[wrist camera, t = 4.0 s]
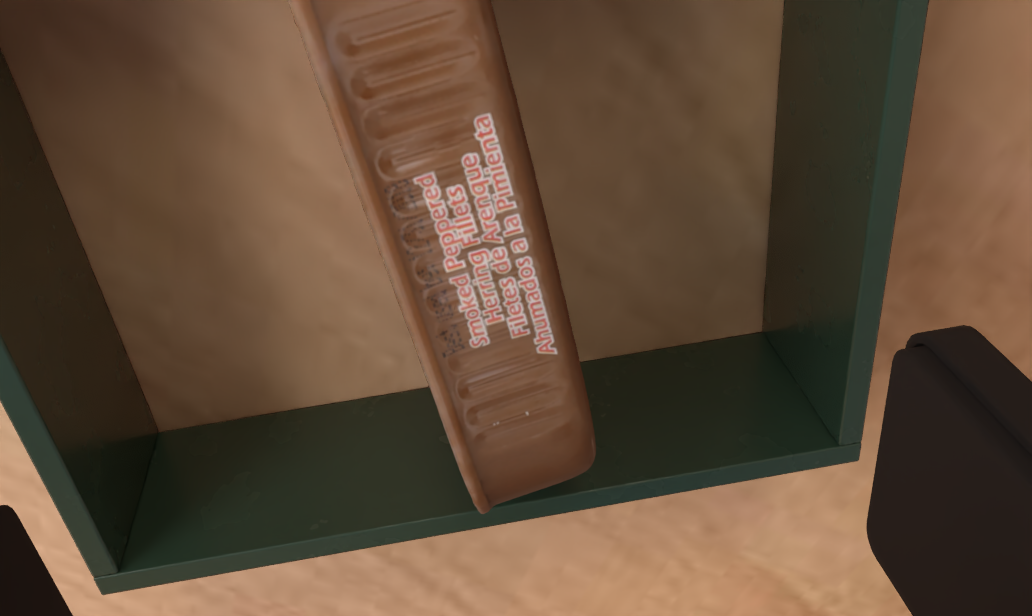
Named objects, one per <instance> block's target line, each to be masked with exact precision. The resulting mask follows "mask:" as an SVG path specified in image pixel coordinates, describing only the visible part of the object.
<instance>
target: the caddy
mask: <svg viewBox="0 0 1032 616" xmlns="http://www.w3.org/2000/svg"><path fill="white" fill-rule="evenodd" d="M928 3H929V0H784V15H783V30H782V45H781V60H780V75H779V90H778V105H777V120H776V135H775V150H774V165H773V180H772V195H771V210H770V224H769V239H768V254H767V269H766V284H765V299H764V314H763V329H762V331H763V332H761V333H755V334H749V335H743V336H737V337H731V338H725V339H719V340H713V341H707V342H701V343H695V344H688V345H682V346H676V347H670V348H664V349H658V350H652V351H646V352H640V353H634V354H628V355H622V356H616V357H610V358H604V359H598V360H592V361H586V362H580V365H581V370H582V374H583V378H584V382H585V387H586V391H587V396H588V401H589V406H590V411H591V416H592V422H593V428H594V434H595V442H596V456H595V459H594V462H593V464H592V466H591V467H590V468H589V469H588V470H587V471H586V472H584V473H582V474H580V475H578V476H576V477H574V478H571V479H569V480H566V481H563V482H561V483H558V484H555V485H553V486H550V487H547V488H544V489H541V490H538V491H535V492H532V493H529V494H526V495H523V496H520V497H517V498H514V499H511V500H508V501H505V502H502V503H499V504H496V505H495V506H493V507H492V508H491V509H490V511H489V512H487V513H484V514H481V513H480V512H479V511H478V509H477V507H476V506H475V504H474V503H473V500H472V497H471V495H470V493H469V491H468V489H467V487H466V484H465V482H464V480H463V477H462V475H461V472H460V470H459V467H458V464H457V462H456V459H455V456H454V453H453V451H452V448H451V445H450V443H449V440H448V437H447V434H446V432H445V429H444V426H443V423H442V420H441V418H440V415H439V412H438V409H437V406H436V403H435V400H434V398H433V395H432V392H431V390H430V388H423V389H417V390H411V391H405V392H399V393H393V394H387V395H381V396H375V397H369V398H363V399H357V400H351V401H345V402H339V403H333V404H327V405H321V406H315V407H309V408H303V409H297V410H291V411H285V412H279V413H273V414H267V415H261V416H255V417H249V418H243V419H237V420H231V421H225V422H219V423H213V424H207V425H201V426H195V427H189V428H183V429H177V430H171V431H164V432H158V429H157V427H156V425H155V422H154V420H153V417H152V415H151V412H150V410H149V408H148V405H147V403H146V400H145V398H144V395H143V393H142V391H141V388H140V386H139V383H138V381H137V378H136V376H135V374H134V371H133V369H132V366H131V364H130V362H129V359H128V357H127V354H126V352H125V349H124V347H123V345H122V342H121V340H120V337H119V335H118V332H117V330H116V328H115V325H114V323H113V320H112V318H111V315H110V313H109V311H108V308H107V306H106V303H105V301H104V298H103V296H102V294H101V291H100V289H99V286H98V284H97V282H96V279H95V277H94V274H93V272H92V269H91V267H90V265H89V262H88V260H87V257H86V255H85V252H84V250H83V248H82V245H81V243H80V240H79V238H78V235H77V233H76V231H75V228H74V226H73V223H72V221H71V218H70V216H69V214H68V211H67V209H66V206H65V204H64V202H63V199H62V197H61V194H60V192H59V189H58V187H57V185H56V182H55V180H54V177H53V175H52V172H51V170H50V168H49V165H48V163H47V160H46V158H45V155H44V153H43V151H42V148H41V146H40V143H39V141H38V138H37V136H36V134H35V131H34V129H33V126H32V124H31V122H30V119H29V117H28V114H27V112H26V109H25V107H24V105H23V102H22V100H21V97H20V95H19V92H18V90H17V88H16V85H15V83H14V80H13V78H12V75H11V73H10V71H9V68H8V66H7V63H6V61H5V59H4V56H3V54H2V51H1V49H0V401H1V403H2V405H3V407H4V409H5V411H6V413H7V415H8V417H9V418H10V420H11V422H12V424H13V426H14V428H15V430H16V432H17V434H18V436H19V437H20V439H21V441H22V443H23V445H24V447H25V449H26V451H27V453H28V455H29V456H30V458H31V460H32V462H33V464H34V466H35V468H36V470H37V472H38V474H39V475H40V477H41V479H42V481H43V483H44V485H45V487H46V489H47V491H48V493H49V494H50V496H51V498H52V500H53V502H54V504H55V506H56V508H57V510H58V512H59V513H60V515H61V517H62V519H63V521H64V523H65V525H66V527H67V529H68V531H69V532H70V534H71V536H72V538H73V540H74V542H75V544H76V546H77V548H78V550H79V551H80V553H81V555H82V557H83V559H84V561H85V563H86V565H87V567H88V568H89V570H90V572H91V574H92V576H93V577H94V581H95V583H96V585H97V586H98V588H99V590H100V592H101V594H102V595H106V594H112V593H117V592H123V591H128V590H134V589H140V588H145V587H151V586H157V585H162V584H168V583H173V582H179V581H185V580H190V579H196V578H202V577H207V576H213V575H218V574H224V573H230V572H235V571H241V570H247V569H252V568H258V567H263V566H269V565H275V564H280V563H286V562H292V561H297V560H303V559H309V558H314V557H320V556H325V555H331V554H337V553H342V552H348V551H354V550H359V549H365V548H370V547H376V546H382V545H387V544H393V543H399V542H404V541H410V540H415V539H421V538H427V537H432V536H438V535H444V534H449V533H455V532H460V531H466V530H472V529H477V528H483V527H489V526H494V525H500V524H506V523H511V522H517V521H522V520H528V519H534V518H539V517H545V516H551V515H556V514H562V513H567V512H573V511H579V510H584V509H590V508H596V507H601V506H607V505H612V504H618V503H624V502H629V501H635V500H641V499H646V498H652V497H657V496H663V495H669V494H674V493H680V492H686V491H691V490H697V489H703V488H708V487H714V486H719V485H725V484H731V483H736V482H742V481H748V480H753V479H759V478H764V477H770V476H776V475H781V474H787V473H793V472H798V471H804V470H809V469H815V468H821V467H826V466H832V465H838V464H843V463H849V462H854V461H858V460H859V456H860V450H861V440H862V434H863V428H864V421H865V415H866V408H867V402H868V395H869V388H870V382H871V375H872V369H873V362H874V356H875V349H876V343H877V336H878V330H879V323H880V317H881V310H882V304H883V297H884V290H885V284H886V277H887V271H888V264H889V258H890V251H891V245H892V238H893V232H894V225H895V219H896V212H897V206H898V199H899V192H900V186H901V179H902V173H903V166H904V160H905V153H906V147H907V140H908V134H909V127H910V121H911V114H912V108H913V101H914V94H915V88H916V81H917V75H918V68H919V62H920V55H921V49H922V42H923V36H924V29H925V23H926V16H927V10H928Z"/></svg>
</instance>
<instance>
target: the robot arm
mask: <svg viewBox="0 0 1032 616" xmlns="http://www.w3.org/2000/svg"><path fill="white" fill-rule="evenodd" d="M867 536H868V540H869V544H870V546H871V549H872V552H873V553H874V555H875V557H876V559H877V561H878V562H879V564H880V565H881V567H882V568H883V570H884V571H885V573H886V575H887V576H888V578H889V579H890V581H891V582H892V584H893V586H894V587H895V589H896V590H897V592H898V593H899V595H900V596H901V598H902V600H903V601H904V603H905V604H906V606H907V607H908V609H909V611H910V612H911V614H912V615H913V616H1032V382H1031V381H1030V380H1029V379H1028V378H1027V377H1026V376H1025V375H1024V374H1023V373H1022V372H1021V371H1020V370H1019V369H1018V368H1017V367H1016V366H1015V365H1013V364H1012V363H1011V362H1010V361H1009V360H1008V359H1007V358H1006V357H1005V356H1004V355H1003V354H1002V353H1001V352H1000V351H999V350H998V349H996V348H995V347H994V346H993V345H992V344H991V343H990V342H989V341H988V340H987V339H986V338H985V337H984V336H983V335H982V334H981V333H980V332H978V331H977V330H976V329H974V328H973V327H971V326H966V325H962V326H956V327H950V328H945V329H939V330H933V331H927V332H921V333H917V334H914V335H912V336H911V337H910V339H909V340H908V341H907V344H906V348H905V349H901V350H899V351H897V352H896V354H895V355H894V358H893V361H892V367H891V373H890V380H889V386H888V392H887V399H886V405H885V411H884V417H883V424H882V430H881V436H880V443H879V449H878V455H877V461H876V468H875V474H874V480H873V487H872V493H871V499H870V505H869V512H868V518H867ZM0 616H73V615H72V613H71V612H70V610H69V608H68V606H67V604H66V603H65V601H64V599H63V597H62V595H61V594H60V592H59V590H58V588H57V586H56V584H55V583H54V581H53V579H52V577H51V575H50V574H49V572H48V570H47V568H46V566H45V565H44V563H43V561H42V559H41V557H40V556H39V554H38V552H37V550H36V548H35V546H34V545H33V543H32V541H31V539H30V537H29V536H28V534H27V532H26V530H25V528H24V527H23V525H22V523H21V521H20V519H19V518H18V516H17V514H16V513H15V511H14V510H13V509H12V508H11V507H9V506H8V505H1V506H0Z"/></svg>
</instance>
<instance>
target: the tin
mask: <svg viewBox="0 0 1032 616" xmlns="http://www.w3.org/2000/svg"><path fill="white" fill-rule="evenodd" d="M288 2H289V5H290V7H291V10H292V13H293V16H294V21H295V24H296V25H297V27H298V28H299V31H300V35H301V38H302V41H303V44H304V46H305V49H306V52H307V55H308V58H309V61H310V64H311V66H312V69H313V72H314V75H315V78H316V81H317V84H318V86H319V89H320V91H321V94H322V96H323V99H324V101H325V104H326V107H327V109H328V112H329V115H330V118H331V121H332V124H333V127H334V129H335V132H336V135H337V138H338V140H339V143H340V146H341V148H342V151H343V154H344V157H345V159H346V162H347V164H348V167H349V169H350V172H351V175H352V178H353V181H354V184H355V187H356V190H357V193H358V195H359V198H360V200H361V203H362V206H363V209H364V212H365V214H366V216H367V219H368V223H369V225H370V227H371V230H372V232H373V235H374V237H375V240H376V243H377V246H378V249H379V252H380V255H381V257H382V259H383V260H384V265H385V267H386V269H387V272H388V275H389V278H390V281H391V283H392V286H393V289H394V292H395V295H396V298H397V300H398V303H399V306H400V308H401V311H402V314H403V316H404V319H405V322H406V325H407V327H408V330H409V332H410V335H411V338H412V340H413V343H414V346H415V349H416V351H417V354H418V357H419V360H420V363H421V366H422V369H423V371H424V374H425V377H426V379H427V382H428V384H429V387H430V390H431V392H432V395H433V398H434V400H435V403H436V406H437V409H438V412H439V415H440V418H441V420H442V423H443V426H444V429H445V432H446V434H447V437H448V440H449V443H450V445H451V448H452V451H453V453H454V456H455V459H456V462H457V464H458V467H459V470H460V472H461V475H462V477H463V480H464V482H465V484H466V487H467V489H468V491H469V493H470V495H471V497H472V500H473V503H474V504H475V506H476V507H477V509H478V511H479V512H480V513H481V514H484V513H487V512H489V511H490V509H491V508H492V507H493V506H495V505H496V504H499V503H502V502H505V501H508V500H511V499H514V498H517V497H520V496H523V495H526V494H529V493H532V492H535V491H538V490H541V489H544V488H547V487H550V486H553V485H555V484H558V483H561V482H563V481H566V480H569V479H571V478H574V477H576V476H578V475H580V474H582V473H584V472H586V471H587V470H588V469H589V468H590V467H591V466H592V464H593V462H594V459H595V456H596V442H595V434H594V428H593V422H592V416H591V411H590V406H589V401H588V396H587V391H586V387H585V382H584V378H583V374H582V370H581V365H580V361H579V357H578V352H577V347H576V343H575V340H574V336H573V332H572V327H571V323H570V318H569V313H568V309H567V304H566V300H565V296H564V293H563V289H562V285H561V280H560V275H559V270H558V266H557V262H556V257H555V253H554V249H553V245H552V242H551V237H550V233H549V229H548V225H547V221H546V216H545V212H544V208H543V204H542V200H541V196H540V192H539V188H538V184H537V180H536V176H535V171H534V167H533V163H532V159H531V155H530V151H529V148H528V144H527V140H526V136H525V132H524V129H523V125H522V121H521V116H520V112H519V108H518V104H517V99H516V95H515V92H514V88H513V85H512V81H511V77H510V73H509V70H508V66H507V62H506V58H505V54H504V51H503V47H502V43H501V39H500V35H499V32H498V28H497V23H496V19H495V15H494V11H493V7H492V3H491V0H288Z"/></svg>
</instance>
